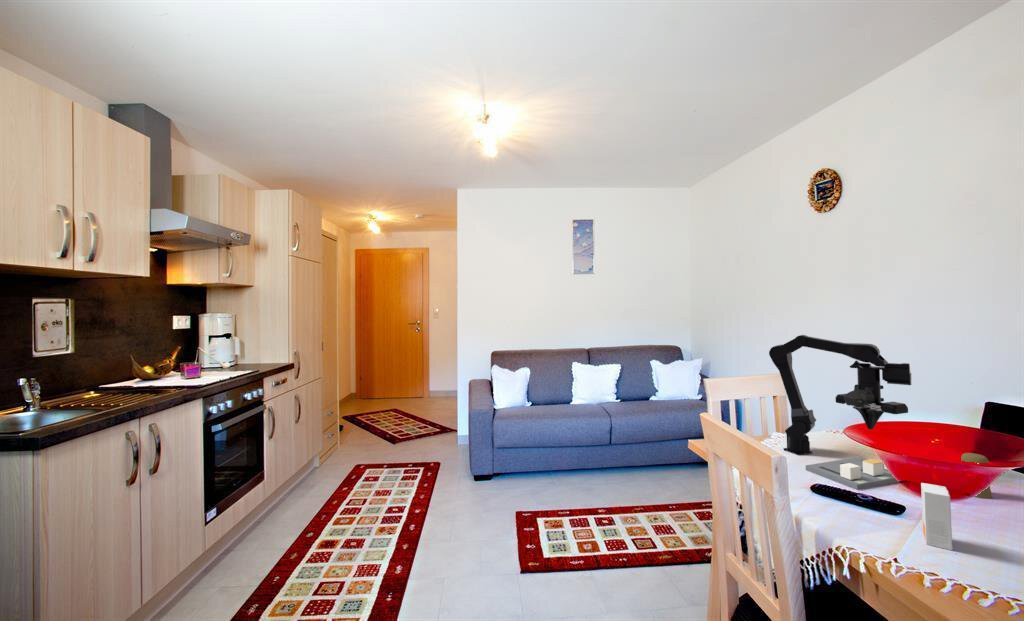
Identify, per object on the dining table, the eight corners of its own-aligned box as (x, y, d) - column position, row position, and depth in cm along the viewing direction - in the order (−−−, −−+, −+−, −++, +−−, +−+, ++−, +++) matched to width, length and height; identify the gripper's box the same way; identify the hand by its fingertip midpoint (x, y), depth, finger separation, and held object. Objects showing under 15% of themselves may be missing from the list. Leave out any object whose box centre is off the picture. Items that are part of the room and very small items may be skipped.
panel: (805, 469, 137) (805, 465, 137) (860, 460, 143) (860, 456, 143) (857, 489, 121) (856, 484, 121) (916, 478, 127) (916, 473, 127)
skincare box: (922, 533, 98) (920, 482, 98) (948, 539, 95) (946, 486, 95) (925, 544, 93) (923, 491, 93) (953, 551, 91) (951, 496, 91)
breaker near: (840, 476, 127) (840, 464, 127) (850, 474, 128) (850, 462, 128) (850, 479, 124) (850, 468, 124) (860, 478, 125) (860, 466, 125)
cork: (995, 500, 112) (994, 459, 112) (962, 495, 116) (961, 455, 116) (988, 492, 117) (987, 453, 117) (957, 487, 121) (956, 449, 121)
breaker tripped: (862, 472, 129) (862, 460, 129) (872, 470, 130) (872, 458, 130) (873, 475, 126) (873, 463, 126) (883, 474, 127) (883, 462, 127)
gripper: (822, 379, 146) (824, 424, 146) (882, 388, 128) (883, 440, 128) (846, 377, 149) (848, 421, 149) (908, 386, 131) (910, 436, 130)
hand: (870, 429), depth 139 cm, fingers closed
